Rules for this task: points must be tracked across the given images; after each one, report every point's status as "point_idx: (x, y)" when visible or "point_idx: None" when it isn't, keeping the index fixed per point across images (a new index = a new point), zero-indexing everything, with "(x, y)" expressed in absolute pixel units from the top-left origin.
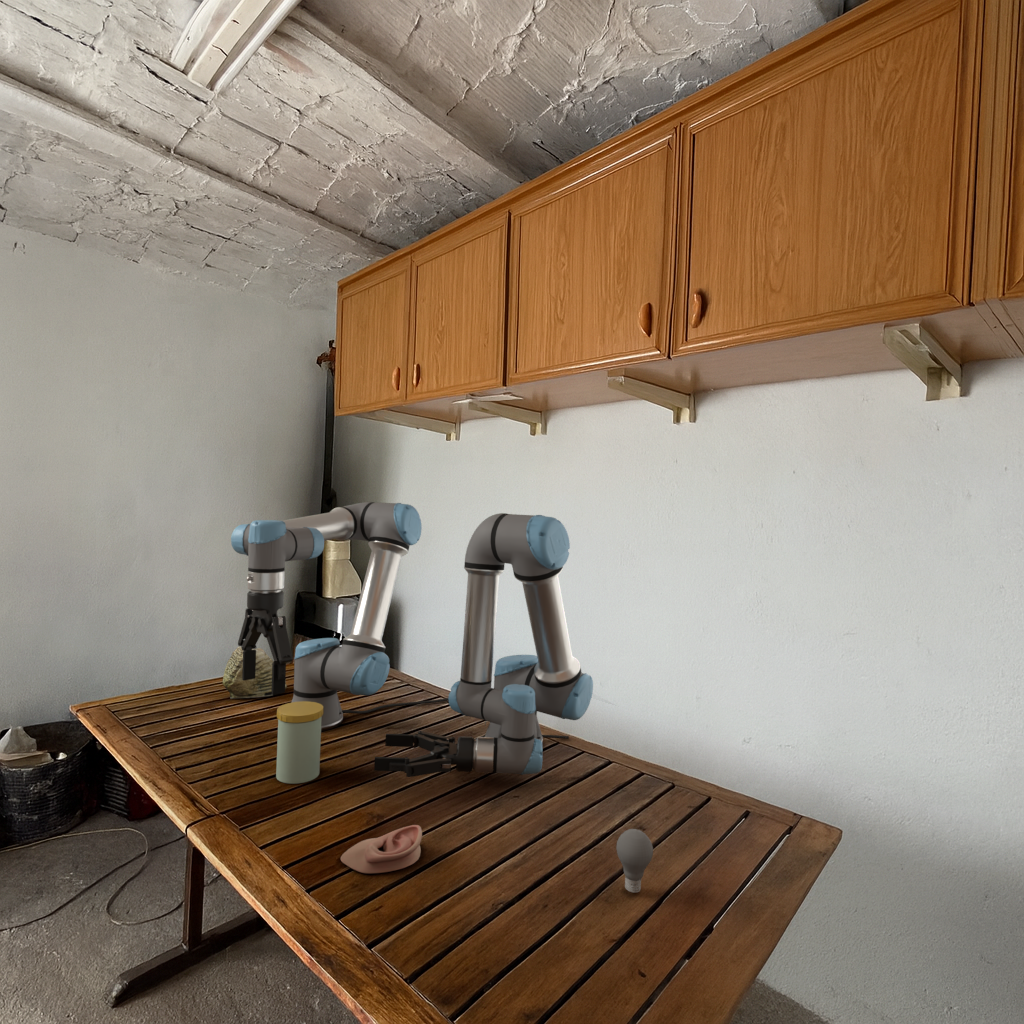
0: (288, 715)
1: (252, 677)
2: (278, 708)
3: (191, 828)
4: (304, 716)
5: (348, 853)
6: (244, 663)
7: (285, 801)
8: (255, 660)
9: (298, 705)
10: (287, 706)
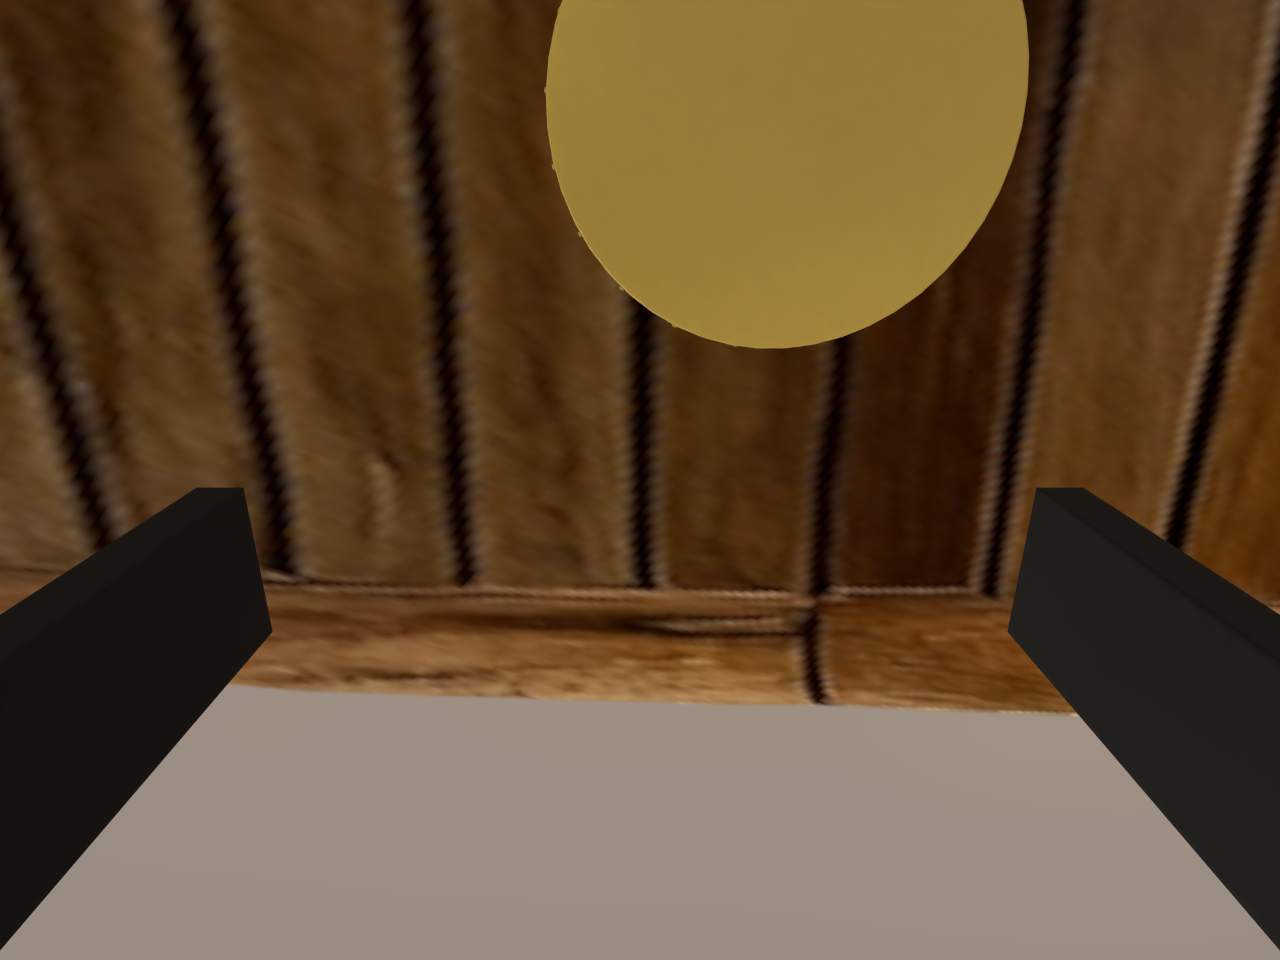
0: (881, 316)
1: (240, 533)
2: (639, 291)
3: (846, 703)
4: (995, 196)
5: None
6: (129, 797)
7: (931, 362)
8: (58, 632)
9: (686, 72)
10: (640, 187)
